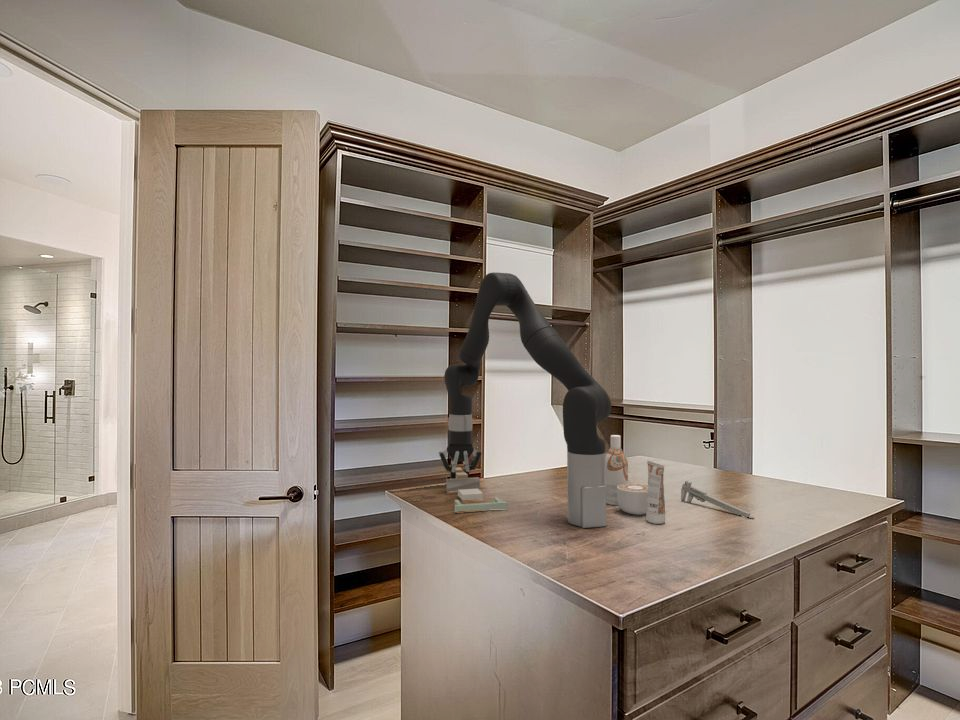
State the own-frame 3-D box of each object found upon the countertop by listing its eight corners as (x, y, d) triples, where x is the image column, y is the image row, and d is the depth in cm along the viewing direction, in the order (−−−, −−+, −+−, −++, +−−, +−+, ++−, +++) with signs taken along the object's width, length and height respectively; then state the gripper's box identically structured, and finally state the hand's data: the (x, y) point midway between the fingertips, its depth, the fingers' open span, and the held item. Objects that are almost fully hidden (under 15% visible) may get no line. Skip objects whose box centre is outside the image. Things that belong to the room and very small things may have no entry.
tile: (483, 502, 147) (483, 493, 147) (462, 503, 146) (462, 494, 146) (477, 496, 153) (477, 488, 153) (457, 498, 151) (457, 489, 151)
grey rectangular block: (479, 491, 158) (479, 475, 158) (447, 493, 156) (447, 476, 156) (470, 481, 171) (470, 466, 171) (440, 483, 168) (440, 468, 168)
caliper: (680, 502, 146) (680, 480, 146) (683, 501, 147) (683, 479, 147) (752, 520, 129) (752, 495, 129) (755, 519, 130) (754, 494, 130)
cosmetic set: (680, 524, 125) (680, 446, 125) (647, 528, 123) (647, 448, 123) (624, 498, 149) (623, 433, 149) (595, 501, 147) (595, 434, 147)
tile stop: (507, 510, 138) (507, 502, 138) (455, 513, 135) (455, 506, 135) (500, 504, 144) (500, 496, 144) (451, 507, 140) (451, 500, 140)
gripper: (440, 430, 157) (439, 487, 157) (485, 429, 160) (484, 485, 161) (436, 427, 164) (435, 481, 165) (479, 426, 168) (478, 479, 168)
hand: (459, 483), depth 163 cm, fingers closed on grey rectangular block, 3 cm apart
